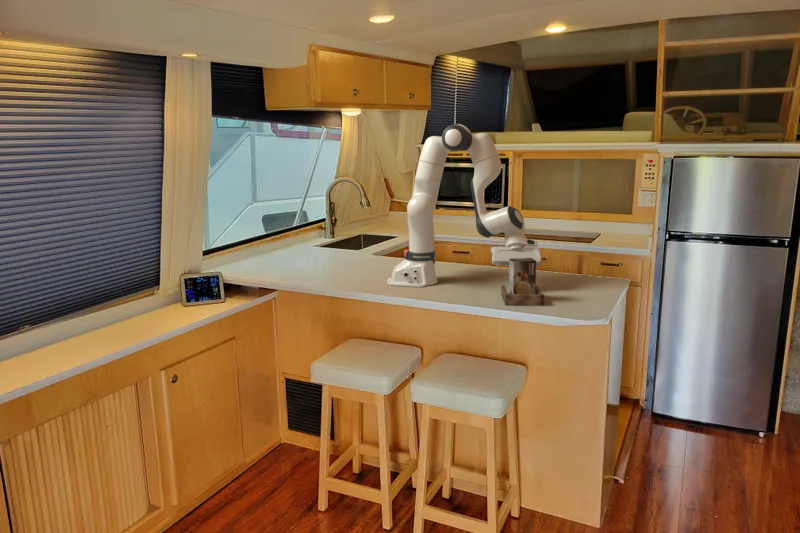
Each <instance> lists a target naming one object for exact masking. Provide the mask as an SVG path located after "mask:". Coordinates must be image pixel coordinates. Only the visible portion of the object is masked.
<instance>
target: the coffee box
mask: <svg viewBox="0 0 800 533" xmlns="http://www.w3.org/2000/svg"><path fill="white" fill-rule="evenodd" d="M508 268H509V269H508V270H509V271H508V294H521V295H535V287H536V286H537V285H536V282H537V280H536V279H537V266H536V260H534V259H532V258H510V259H509V267H508Z"/></svg>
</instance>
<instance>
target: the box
mask: <svg viewBox="0 0 800 533" xmlns="http://www.w3.org/2000/svg"><path fill="white" fill-rule="evenodd" d="M500 295H501V298H502V300H503V304H504V306H526V307H527V306H533V307H534V306H535V307H536V306H540V307H544V305H545V304H544V303H545V295H544V293H543V291H542V290H541V289H540V287H539V286H538V285H536V287H535V295H521V294H509V291H508V290H507V288H506V286H505V285H504V284H503V285H501V288H500Z"/></svg>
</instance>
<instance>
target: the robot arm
mask: <svg viewBox="0 0 800 533" xmlns="http://www.w3.org/2000/svg"><path fill="white" fill-rule="evenodd" d="M463 151H465V152H467V153H468V155H469V157H470V159H471V162H472V164H473V168H474V169H473V170H474V172H473V177H471V180H470V186H471V187H470V188H471V196H472V201H473V207H474V208H473V209H474V214H475V227H476V231H477V232H478V234H479V235H480V236H482V237H484V238H491V237H494V236H495V235H498V234H501V233H504V236H505V237H504V244H494V245H493V246H491V247H490V252H491V264H492V265H493V266H505V267H507V266H509V259H510V258H532V259H534V260H536V267H539V266H541V264H542V259H543V258H542V252H541V250H540V248H539V247H538V241H537V240H533V239H531V238H527V237H526V234H525V232H526V225H525V221H524V217H523V214H522V213H521V212H520V211H519V210H518V209H517V208H516V207H513V206H512V205H509V206H505V207H502V208H499V209H496V210H493V211H491V212H490V211H489V212H488V211H487V207H486V203H485V202H486V201H485V196H484V195H485V194H484V192H485V189H486V188H487V187H488V186H489V185H490V184H492V182H493V181H495V180H496V179H497V178H498V176H499V175H500V174H501V171H502V167H503V166H502V162H501V161H502V160H501V159H500V155H499V153H498V150H497V148H496V146H495V143H494V141H493V139H492V137H491V136H490V134H488V133H487V132H479V133H476V134H473V133H472V130H471V129H469V127H467V126H466V125H463V124H461V123H456V124H450V125H448V126H447V127H446V128H445V129H443V132H442V135H441V136H439V135H432V136H429V137H428V138H426V139H425V141H424V144H423V146H422V149H421V152H420V155H419V159H418V164H417V167H416V168H417V169H416V172H415V176H414V183H413V190H412V191H413V192H412V196H411V198H410V200H409V201H408V203H407V204H406V213H407V214H406V216H407V218H406V219H407V227H408V228H407V229H408V249H405V250H403V251H404V252H403V254H404V255H403V256H404V259H403V260H402V261H400V262H399V263H398V264H397V265H395V266H394V268H393V269H392V273H391V276H390V277H388V278H387V279H386V284H387V285H388V286H397V287H415V288H416V287H417V288H423V287H424V288H425V287H428V286H432V285H436V284H437V283H438V277H437V272H436V264H435V263H436V251H435V229H434V212H435V209H436V205H437V201H438V197H439V191H440V186H441V182H442V177H443V173H444V169H445V165H446V160H447V157H448V154H450V153H451V152H452V153H453V152H454V153H455V152H457V153H458V152H463Z"/></svg>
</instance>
